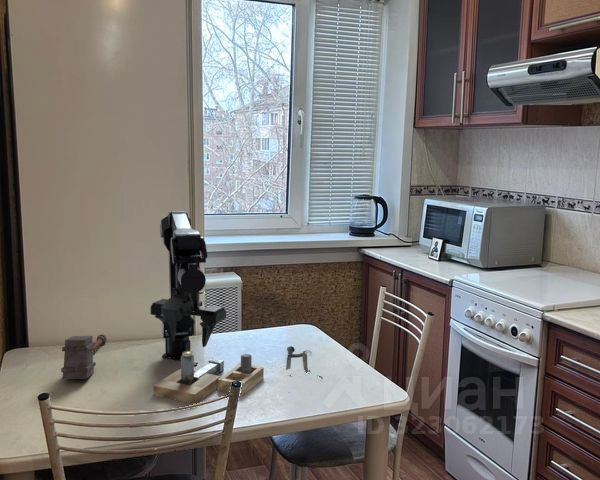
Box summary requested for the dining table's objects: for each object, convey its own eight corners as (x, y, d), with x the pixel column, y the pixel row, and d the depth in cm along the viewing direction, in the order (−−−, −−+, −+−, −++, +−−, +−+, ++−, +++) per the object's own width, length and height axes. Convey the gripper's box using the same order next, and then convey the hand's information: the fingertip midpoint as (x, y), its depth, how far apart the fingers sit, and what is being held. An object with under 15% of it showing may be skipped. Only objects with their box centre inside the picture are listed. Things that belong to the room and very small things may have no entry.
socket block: (153, 394, 143) (153, 385, 143) (181, 377, 154) (181, 368, 154) (195, 404, 139) (195, 394, 138) (220, 385, 150) (220, 376, 149)
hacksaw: (287, 349, 178) (287, 345, 177) (320, 350, 178) (320, 346, 177) (284, 382, 154) (284, 376, 154) (323, 383, 154) (323, 377, 154)
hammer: (60, 379, 148) (60, 340, 148) (91, 357, 180) (92, 325, 180) (87, 379, 148) (88, 340, 149) (114, 357, 181) (114, 324, 181)
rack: (217, 390, 147) (217, 365, 146) (240, 373, 158) (240, 349, 156) (242, 395, 144) (242, 369, 143) (263, 378, 155) (263, 353, 154)
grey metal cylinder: (178, 391, 146) (178, 353, 144) (185, 386, 149) (185, 349, 147) (189, 393, 144) (189, 355, 143) (196, 388, 147) (196, 351, 146)
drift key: (188, 384, 150) (187, 374, 149) (212, 367, 161) (212, 358, 160) (199, 386, 148) (199, 376, 148) (223, 370, 160) (223, 360, 159)
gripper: (135, 286, 138) (137, 348, 141) (203, 295, 131) (204, 360, 134) (162, 276, 148) (164, 335, 151) (227, 284, 142) (227, 345, 144)
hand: (188, 344), depth 145 cm, fingers open, 9 cm apart
